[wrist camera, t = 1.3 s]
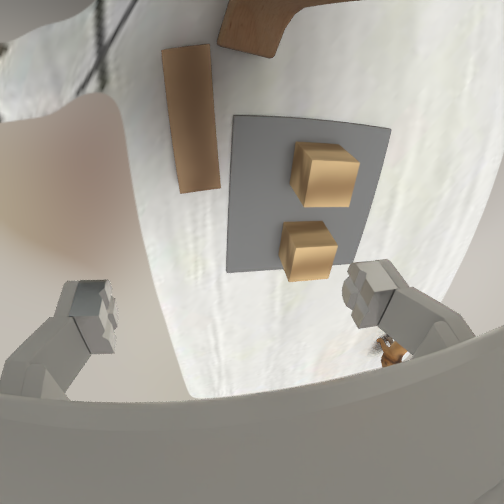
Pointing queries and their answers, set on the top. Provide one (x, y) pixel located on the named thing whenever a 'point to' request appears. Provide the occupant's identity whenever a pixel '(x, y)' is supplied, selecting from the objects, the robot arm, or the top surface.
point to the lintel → (192, 116)
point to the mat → (281, 193)
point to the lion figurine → (391, 352)
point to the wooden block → (260, 23)
